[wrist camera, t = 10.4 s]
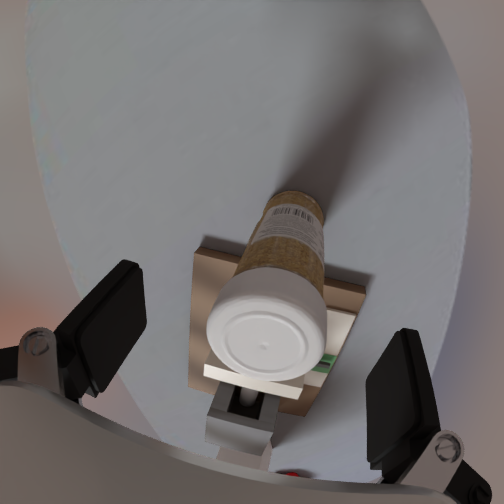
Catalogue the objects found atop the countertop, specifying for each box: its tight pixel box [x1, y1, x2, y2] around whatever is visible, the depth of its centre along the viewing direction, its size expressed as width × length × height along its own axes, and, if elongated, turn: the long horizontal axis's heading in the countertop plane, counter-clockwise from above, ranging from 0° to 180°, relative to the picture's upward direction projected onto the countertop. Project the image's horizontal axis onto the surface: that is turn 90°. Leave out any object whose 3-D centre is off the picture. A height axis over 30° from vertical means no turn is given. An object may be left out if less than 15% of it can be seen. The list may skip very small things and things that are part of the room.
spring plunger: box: [204, 348, 330, 407], centre depth 26 cm, size 7×10×4 cm, turn 81°
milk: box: [216, 440, 272, 472], centre depth 28 cm, size 6×6×22 cm
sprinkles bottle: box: [206, 191, 327, 381], centre depth 16 cm, size 5×5×13 cm
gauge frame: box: [188, 247, 366, 456], centre depth 25 cm, size 18×14×8 cm
